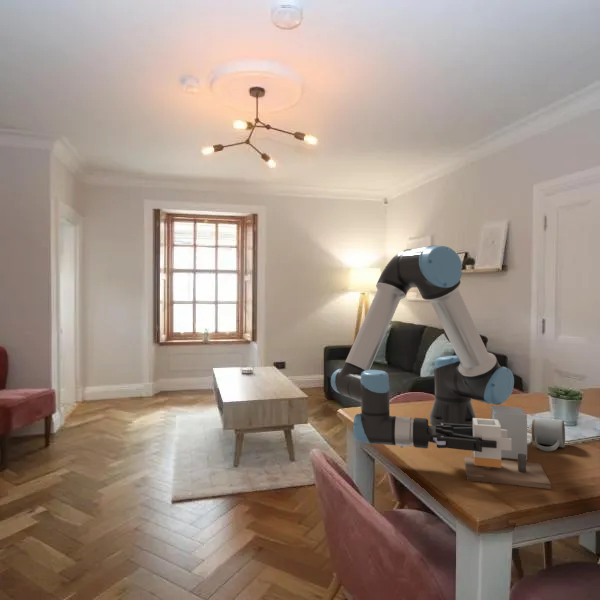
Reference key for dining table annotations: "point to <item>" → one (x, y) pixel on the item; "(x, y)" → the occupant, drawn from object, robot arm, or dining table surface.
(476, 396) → the robot arm
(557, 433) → the ceramic mug
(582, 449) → the dining table surface
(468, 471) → the pin board
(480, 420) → the sleeve
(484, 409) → the dining table surface
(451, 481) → the dining table surface
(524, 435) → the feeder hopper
